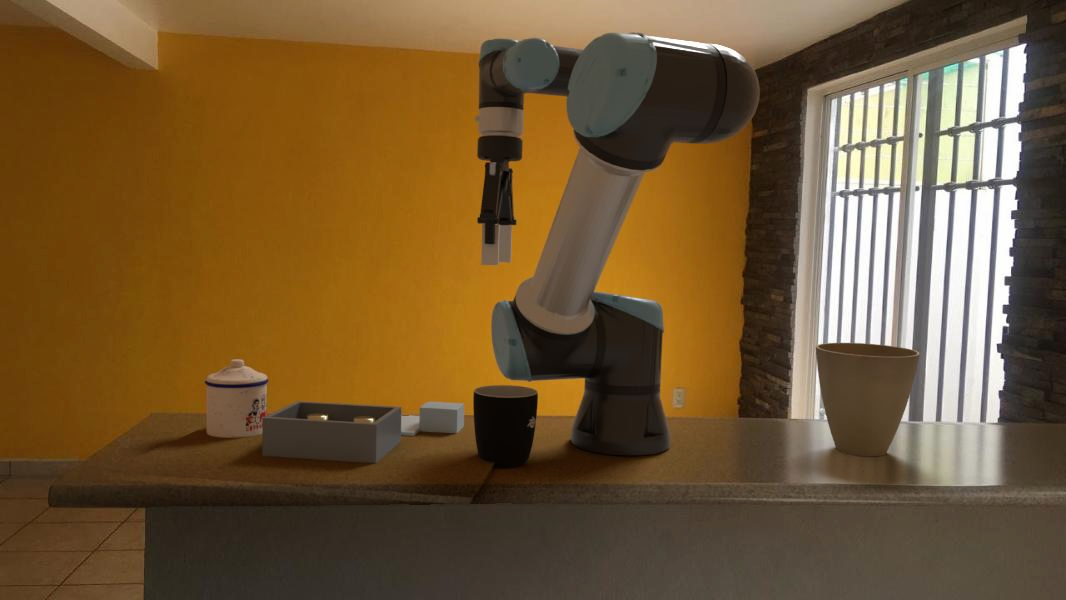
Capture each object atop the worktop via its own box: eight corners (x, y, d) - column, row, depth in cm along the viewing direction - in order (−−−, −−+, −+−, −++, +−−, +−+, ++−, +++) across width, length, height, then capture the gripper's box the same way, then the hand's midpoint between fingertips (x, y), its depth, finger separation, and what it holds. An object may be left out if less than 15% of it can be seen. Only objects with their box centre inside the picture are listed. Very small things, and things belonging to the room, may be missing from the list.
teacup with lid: (257, 444, 127) (257, 365, 126) (195, 442, 127) (195, 363, 126) (281, 425, 139) (281, 353, 138) (224, 424, 139) (224, 352, 138)
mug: (535, 472, 117) (537, 398, 116) (468, 469, 117) (470, 395, 116) (536, 449, 129) (538, 382, 128) (476, 447, 129) (478, 380, 128)
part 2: (377, 443, 126) (377, 416, 126) (370, 448, 123) (371, 421, 123) (357, 442, 127) (357, 415, 126) (350, 447, 124) (350, 419, 123)
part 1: (330, 440, 127) (331, 413, 127) (323, 445, 124) (323, 418, 124) (311, 439, 127) (311, 412, 127) (303, 444, 124) (303, 417, 124)
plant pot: (795, 438, 141) (800, 341, 140) (882, 439, 142) (888, 343, 141) (835, 463, 126) (841, 355, 125) (932, 464, 127) (939, 356, 126)
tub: (400, 447, 128) (401, 407, 127) (375, 468, 116) (376, 424, 116) (297, 440, 130) (297, 401, 129) (262, 461, 118) (262, 417, 118)
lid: (467, 428, 142) (468, 399, 142) (451, 445, 131) (452, 414, 131) (336, 420, 145) (336, 392, 145) (309, 436, 134) (309, 405, 134)
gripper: (490, 143, 157) (487, 260, 159) (463, 126, 133) (459, 265, 134) (531, 144, 156) (528, 261, 158) (511, 127, 132) (507, 267, 133)
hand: (496, 263), depth 146 cm, fingers open, 13 cm apart
